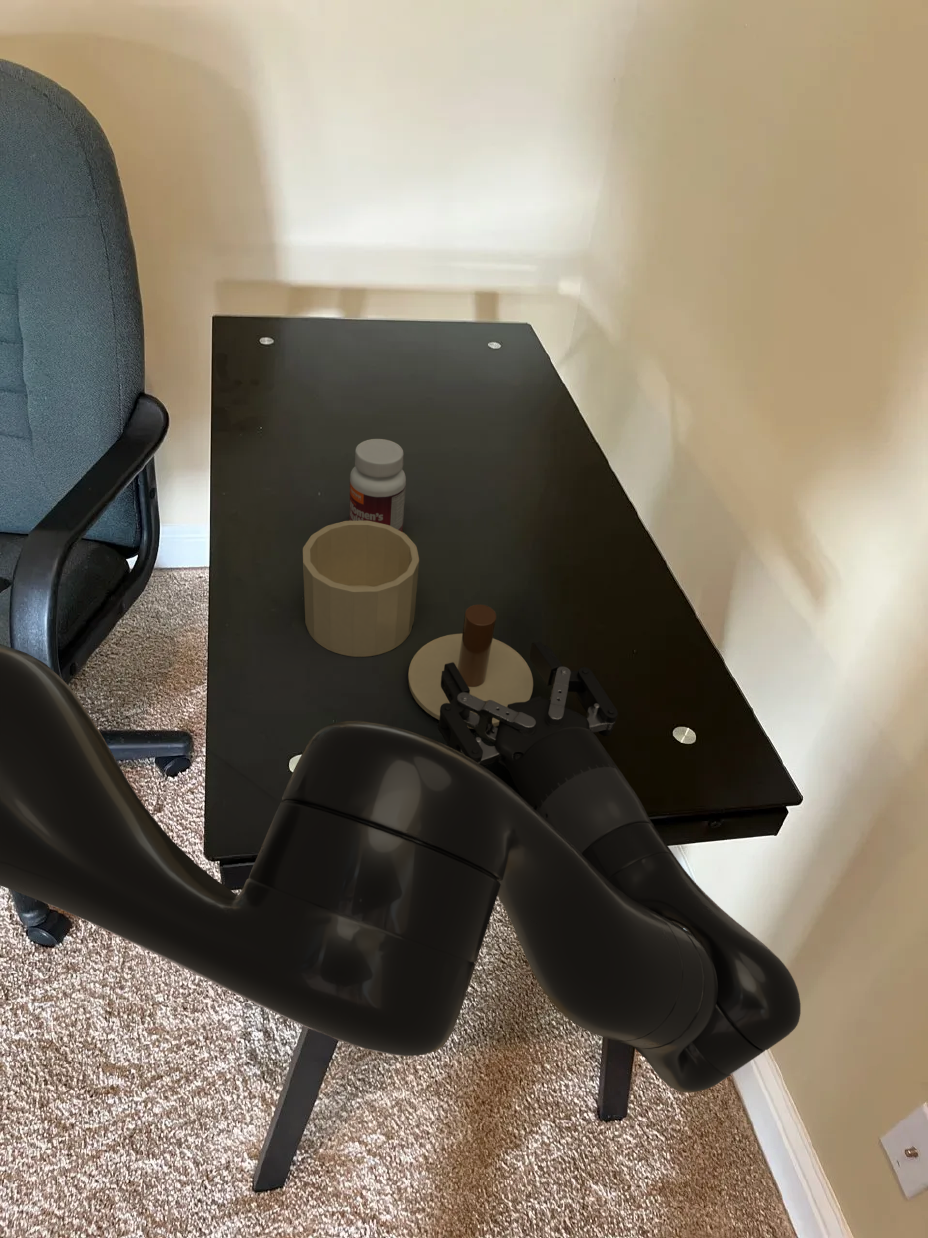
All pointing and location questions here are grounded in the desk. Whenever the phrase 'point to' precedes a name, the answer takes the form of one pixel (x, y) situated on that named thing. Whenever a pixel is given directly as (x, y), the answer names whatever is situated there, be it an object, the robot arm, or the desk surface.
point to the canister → (360, 587)
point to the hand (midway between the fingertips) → (491, 658)
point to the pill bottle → (378, 483)
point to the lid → (471, 665)
